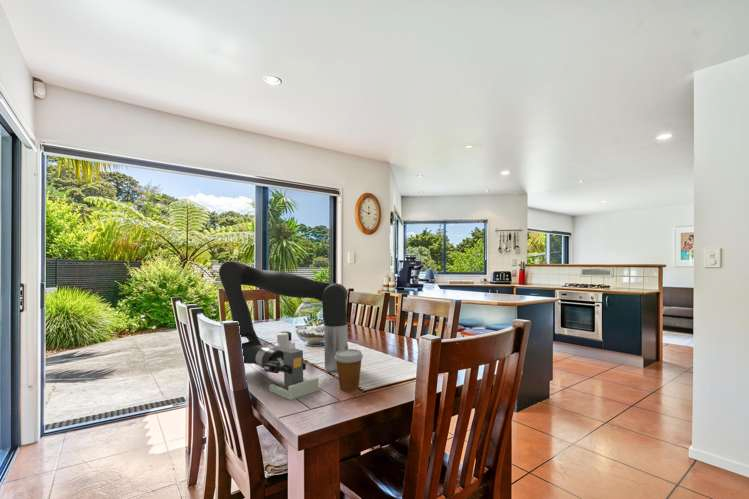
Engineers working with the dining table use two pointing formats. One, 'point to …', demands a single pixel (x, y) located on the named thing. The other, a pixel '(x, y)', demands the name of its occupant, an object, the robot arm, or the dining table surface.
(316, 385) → the mount
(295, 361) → the tall gray pillar block
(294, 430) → the dining table surface
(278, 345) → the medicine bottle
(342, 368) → the disposable coffee cup
